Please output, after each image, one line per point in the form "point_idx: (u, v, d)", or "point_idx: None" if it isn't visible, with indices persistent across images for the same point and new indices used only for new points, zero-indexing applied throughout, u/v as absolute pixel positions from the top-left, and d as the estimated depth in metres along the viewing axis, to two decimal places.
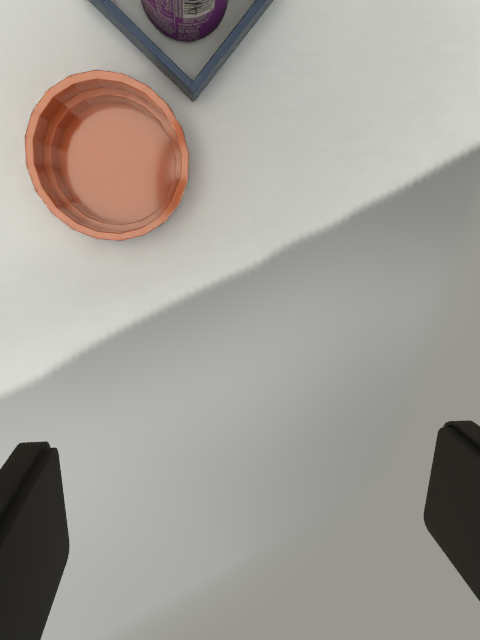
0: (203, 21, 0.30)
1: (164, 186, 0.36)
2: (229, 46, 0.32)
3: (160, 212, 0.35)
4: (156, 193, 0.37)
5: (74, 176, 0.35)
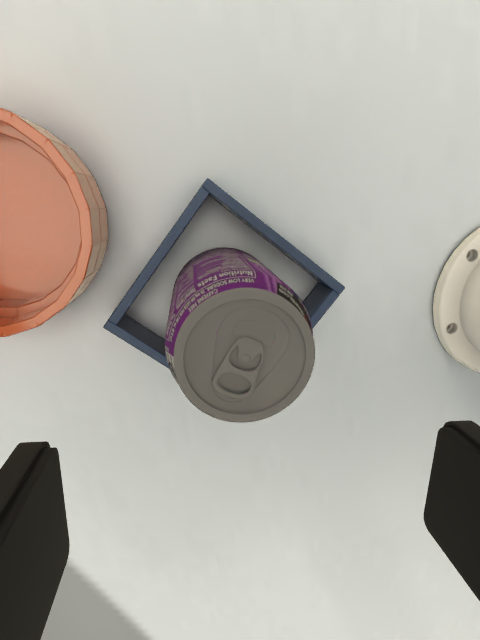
0: None
1: None
2: (163, 363, 0.27)
3: None
4: None
5: None
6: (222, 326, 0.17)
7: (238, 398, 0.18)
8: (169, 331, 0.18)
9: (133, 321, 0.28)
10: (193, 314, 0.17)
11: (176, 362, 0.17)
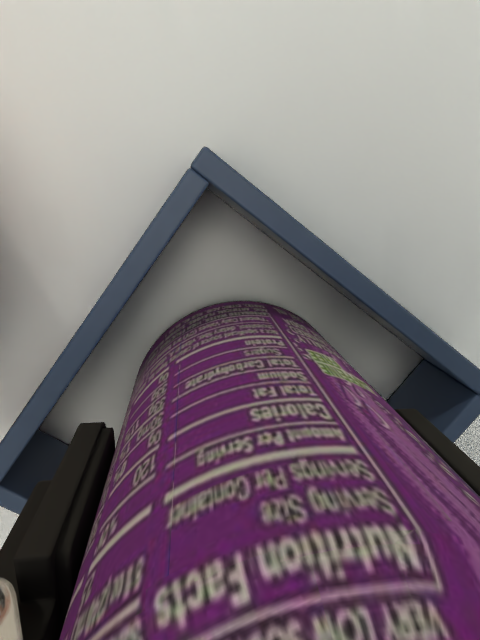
0: None
1: None
2: None
3: None
4: None
5: None
6: None
7: None
8: None
9: (55, 446, 0.14)
10: None
11: None
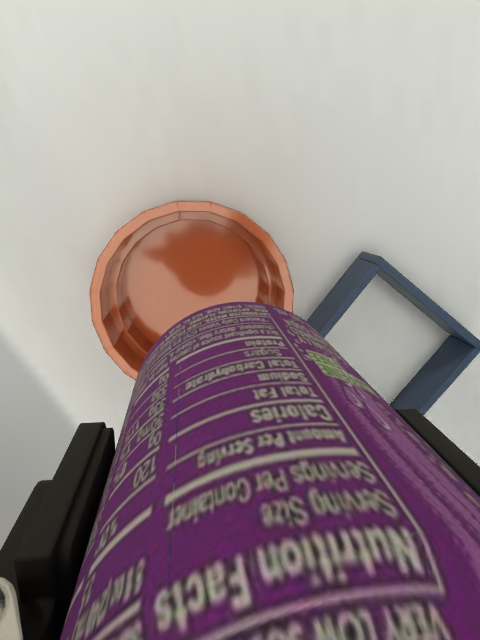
0: None
1: None
2: None
3: (140, 354, 0.27)
4: None
5: (174, 236, 0.28)
6: None
7: None
8: None
9: None
10: None
11: None
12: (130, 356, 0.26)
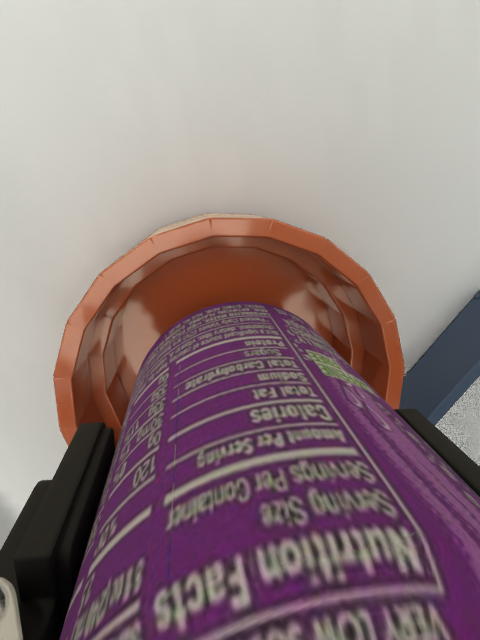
0: None
1: None
2: None
3: None
4: None
5: (197, 270, 0.17)
6: None
7: None
8: None
9: None
10: None
11: None
12: None
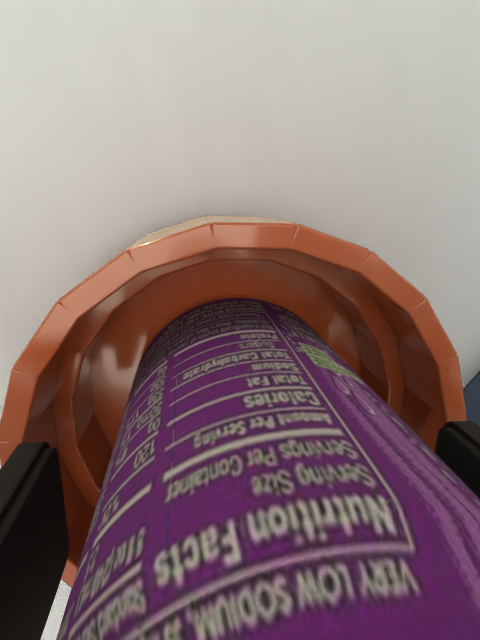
0: None
1: None
2: None
3: None
4: None
5: (194, 286, 0.14)
6: None
7: None
8: None
9: None
10: None
11: None
12: None
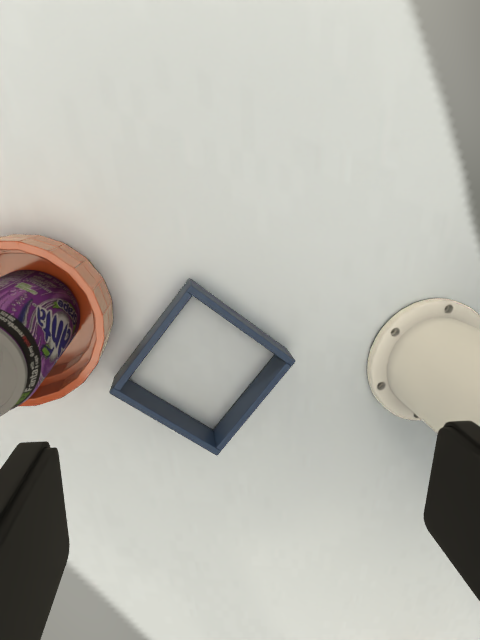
0: None
1: None
2: (155, 418, 0.34)
3: None
4: None
5: (11, 264, 0.31)
6: None
7: None
8: None
9: (131, 382, 0.36)
10: None
11: None
12: None
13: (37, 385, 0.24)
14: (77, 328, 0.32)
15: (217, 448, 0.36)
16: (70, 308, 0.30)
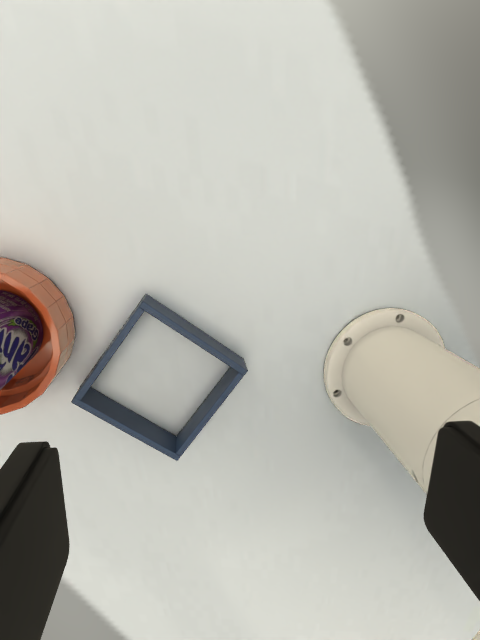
0: None
1: None
2: (115, 426, 0.37)
3: None
4: None
5: None
6: None
7: None
8: None
9: (95, 392, 0.38)
10: None
11: None
12: None
13: None
14: (40, 342, 0.35)
15: (177, 454, 0.38)
16: (29, 325, 0.33)
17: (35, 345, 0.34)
